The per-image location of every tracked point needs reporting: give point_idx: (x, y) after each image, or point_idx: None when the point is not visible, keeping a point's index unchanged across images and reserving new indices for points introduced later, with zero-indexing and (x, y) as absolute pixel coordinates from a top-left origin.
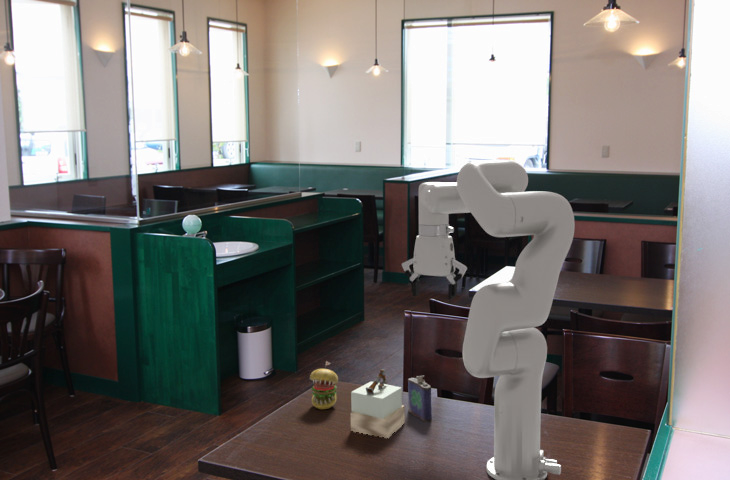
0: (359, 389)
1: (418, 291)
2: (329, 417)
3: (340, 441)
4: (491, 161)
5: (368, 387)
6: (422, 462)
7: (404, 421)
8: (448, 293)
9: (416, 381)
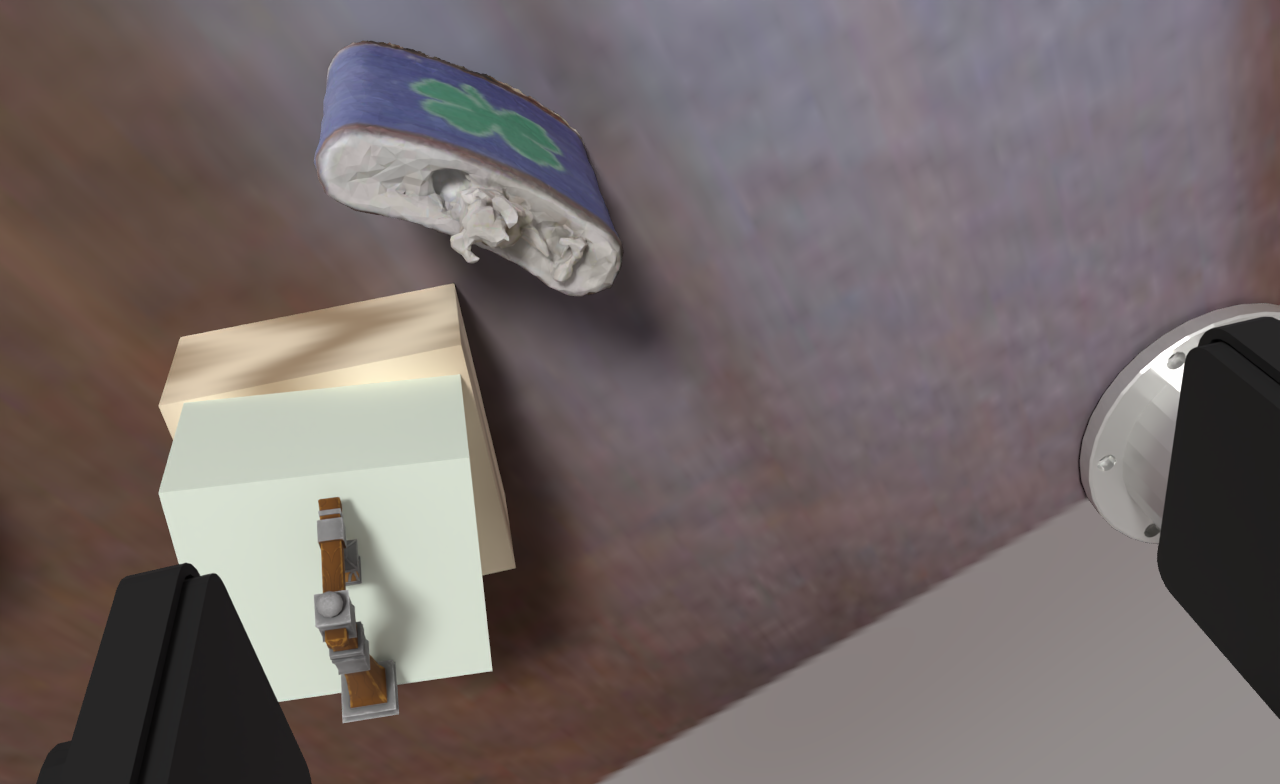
0: None
1: (237, 713)
2: None
3: None
4: None
5: (254, 593)
6: (796, 579)
7: (456, 295)
8: (1242, 674)
9: (422, 185)
